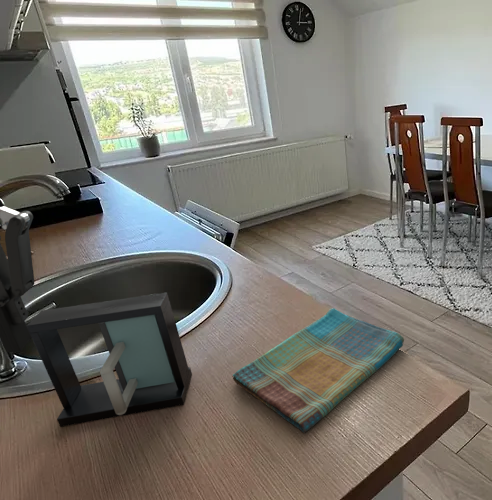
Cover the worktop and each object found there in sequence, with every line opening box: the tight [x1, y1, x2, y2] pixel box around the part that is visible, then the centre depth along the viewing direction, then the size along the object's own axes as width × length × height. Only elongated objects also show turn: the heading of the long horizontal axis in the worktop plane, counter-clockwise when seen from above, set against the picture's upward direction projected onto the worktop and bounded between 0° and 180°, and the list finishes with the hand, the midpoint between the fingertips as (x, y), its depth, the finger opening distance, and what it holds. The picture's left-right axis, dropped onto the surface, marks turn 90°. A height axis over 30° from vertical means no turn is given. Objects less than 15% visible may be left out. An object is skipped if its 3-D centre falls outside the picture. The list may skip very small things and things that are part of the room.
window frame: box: [26, 292, 193, 428], centre depth 60 cm, size 17×7×16 cm, turn 100°
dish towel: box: [232, 307, 405, 433], centre depth 67 cm, size 17×23×2 cm
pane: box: [98, 314, 175, 415], centre depth 57 cm, size 7×8×12 cm
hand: (19, 344), depth 52 cm, fingers closed
